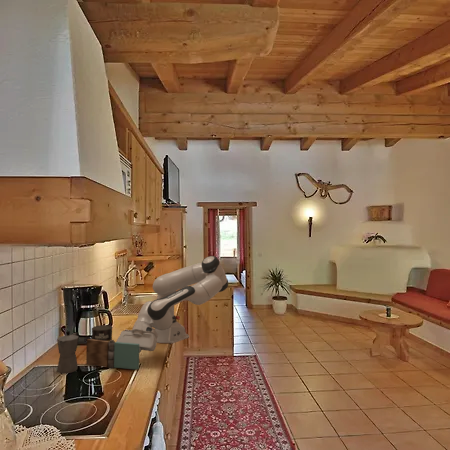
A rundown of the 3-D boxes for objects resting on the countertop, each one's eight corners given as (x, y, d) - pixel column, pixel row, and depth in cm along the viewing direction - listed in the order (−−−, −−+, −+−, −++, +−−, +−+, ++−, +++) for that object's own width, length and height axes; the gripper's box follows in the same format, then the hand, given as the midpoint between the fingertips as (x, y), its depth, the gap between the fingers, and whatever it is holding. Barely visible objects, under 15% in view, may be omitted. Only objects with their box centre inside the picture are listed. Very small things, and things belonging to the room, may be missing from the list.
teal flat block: (106, 367, 172) (107, 342, 172) (110, 365, 174) (110, 340, 175) (136, 370, 168) (137, 345, 169) (139, 367, 171) (140, 343, 171)
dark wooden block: (85, 364, 175) (85, 338, 176) (89, 362, 178) (89, 336, 178) (112, 368, 171) (112, 341, 171) (116, 366, 174) (116, 339, 174)
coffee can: (111, 356, 187) (112, 329, 187) (90, 358, 184) (90, 330, 184) (112, 350, 196) (112, 324, 197) (92, 351, 194) (92, 325, 194)
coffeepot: (68, 376, 162) (69, 336, 162) (49, 374, 163) (50, 334, 163) (86, 363, 177) (87, 326, 177) (69, 362, 178) (69, 325, 178)
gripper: (120, 326, 183) (109, 351, 173) (157, 329, 177) (147, 356, 167) (125, 332, 187) (114, 357, 177) (161, 335, 181) (151, 362, 172)
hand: (130, 357), depth 172 cm, fingers closed
